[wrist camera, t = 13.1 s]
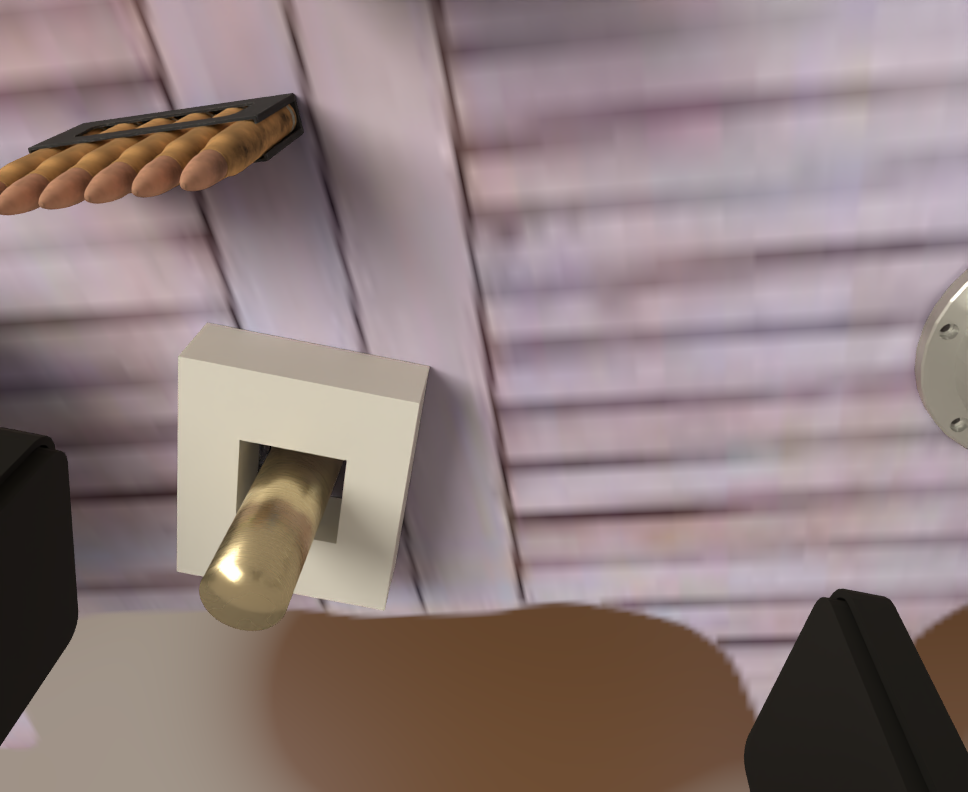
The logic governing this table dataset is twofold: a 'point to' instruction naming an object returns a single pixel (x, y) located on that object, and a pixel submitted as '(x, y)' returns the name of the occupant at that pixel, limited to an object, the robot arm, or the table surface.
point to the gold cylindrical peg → (269, 540)
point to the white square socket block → (298, 449)
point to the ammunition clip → (149, 154)
